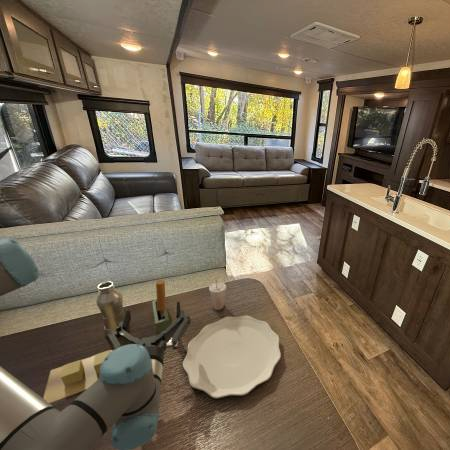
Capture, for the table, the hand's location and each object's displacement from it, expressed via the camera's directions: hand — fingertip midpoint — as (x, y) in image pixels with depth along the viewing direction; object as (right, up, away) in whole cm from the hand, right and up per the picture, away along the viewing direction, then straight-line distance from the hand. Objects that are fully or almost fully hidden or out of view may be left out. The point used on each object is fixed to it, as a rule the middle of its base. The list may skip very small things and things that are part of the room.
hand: (154, 309), depth 77 cm
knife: (-4, -9, +12) cm, 15 cm away
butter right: (-11, -14, -6) cm, 19 cm away
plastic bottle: (-16, -10, +6) cm, 20 cm away
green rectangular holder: (-4, -9, +12) cm, 15 cm away
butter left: (-16, -15, -10) cm, 24 cm away
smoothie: (+13, -6, +22) cm, 26 cm away
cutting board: (-14, -16, -7) cm, 22 cm away
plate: (+24, -16, +3) cm, 29 cm away
